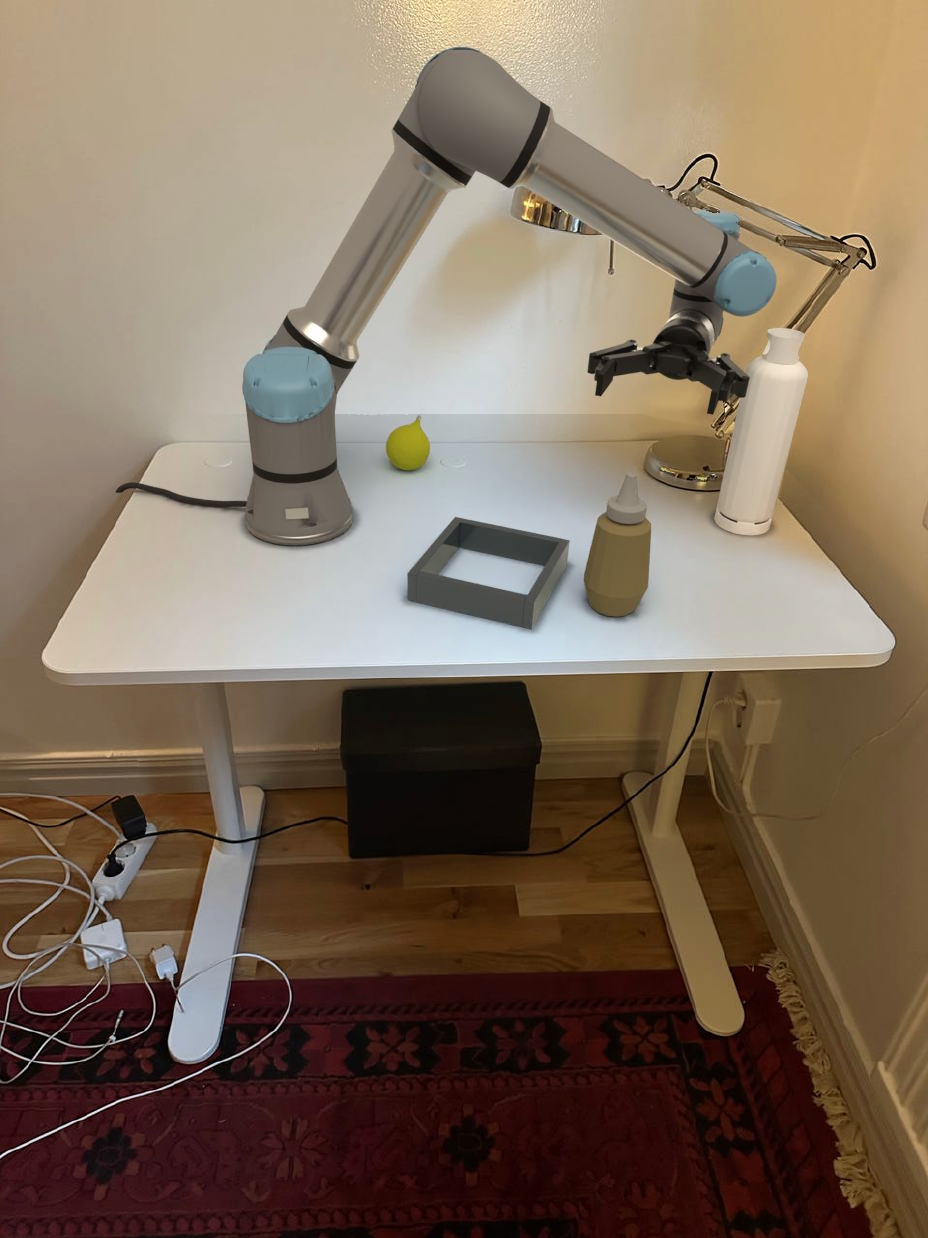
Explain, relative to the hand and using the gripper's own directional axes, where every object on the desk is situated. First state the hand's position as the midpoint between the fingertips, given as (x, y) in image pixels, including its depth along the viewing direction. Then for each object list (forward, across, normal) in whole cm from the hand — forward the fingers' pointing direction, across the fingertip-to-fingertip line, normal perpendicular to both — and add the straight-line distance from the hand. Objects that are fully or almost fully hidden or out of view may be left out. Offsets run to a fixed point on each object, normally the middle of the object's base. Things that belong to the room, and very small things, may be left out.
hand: (654, 394), depth 105 cm
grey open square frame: (+11, +16, -24) cm, 31 cm away
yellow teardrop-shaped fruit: (-17, +40, -25) cm, 50 cm away
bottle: (-20, -13, -24) cm, 34 cm away
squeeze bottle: (+10, 0, -25) cm, 26 cm away
